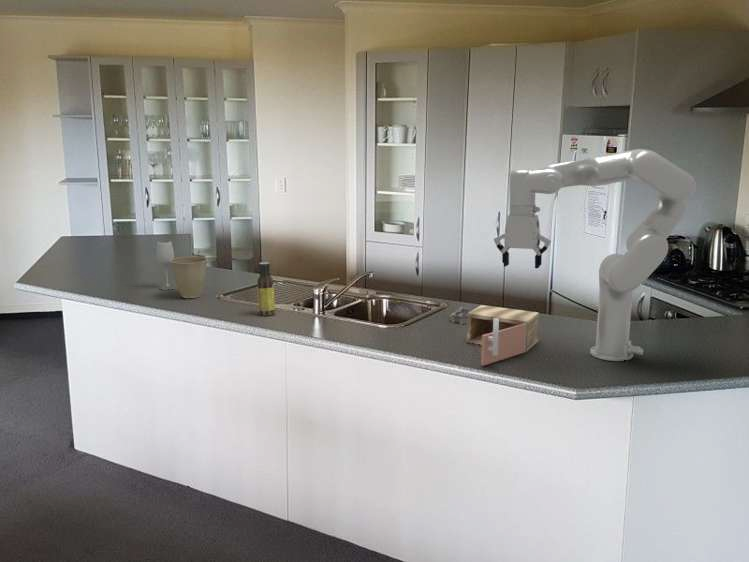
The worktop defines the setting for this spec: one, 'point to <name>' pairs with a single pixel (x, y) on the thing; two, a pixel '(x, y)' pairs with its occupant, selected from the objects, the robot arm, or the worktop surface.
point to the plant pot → (189, 274)
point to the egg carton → (460, 315)
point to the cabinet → (500, 322)
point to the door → (503, 342)
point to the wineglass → (164, 255)
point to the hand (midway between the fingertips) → (521, 266)
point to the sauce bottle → (265, 290)
